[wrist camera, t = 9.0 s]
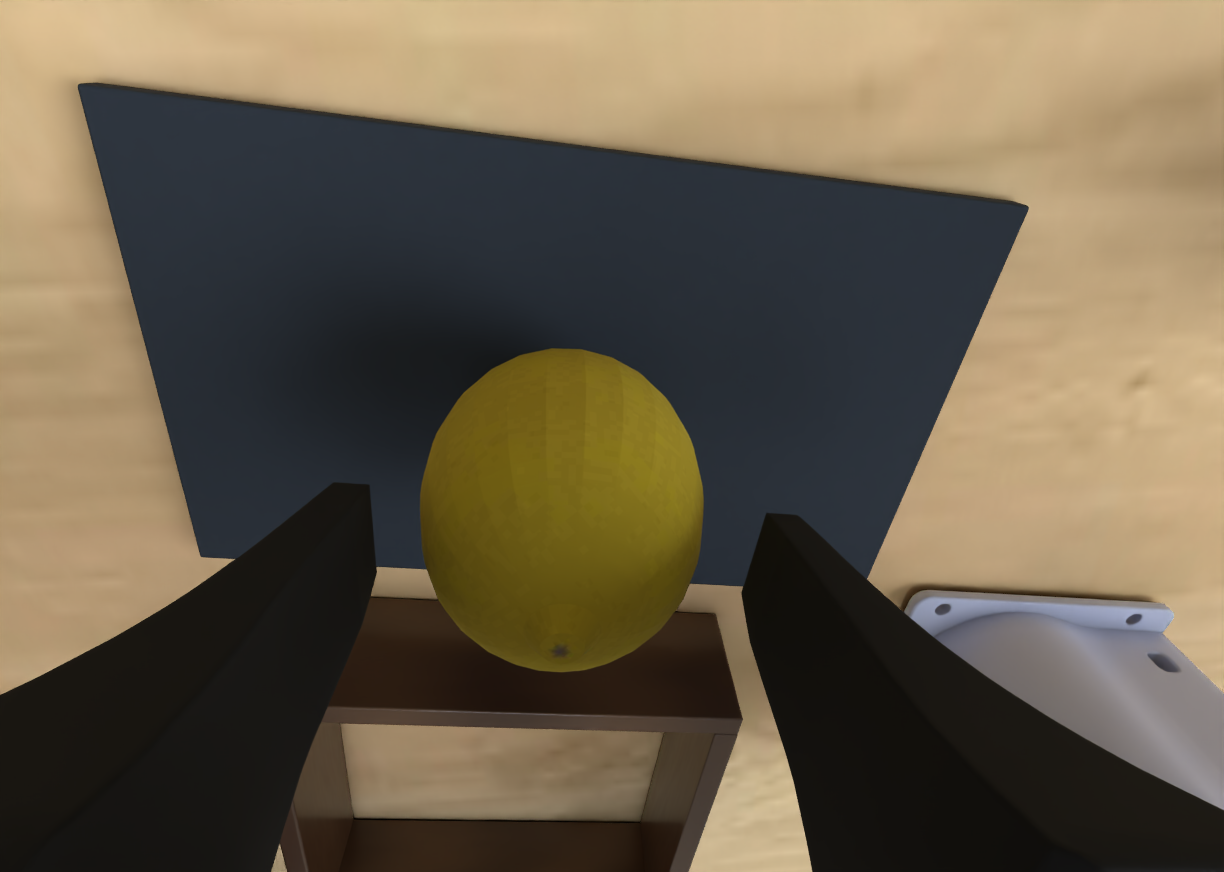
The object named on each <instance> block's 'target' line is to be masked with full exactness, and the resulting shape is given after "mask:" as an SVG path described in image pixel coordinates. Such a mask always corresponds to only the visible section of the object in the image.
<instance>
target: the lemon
mask: <svg viewBox="0 0 1224 872" xmlns="http://www.w3.org/2000/svg"><path fill="white" fill-rule="evenodd" d="M703 511H704V496H703V486H702V481H701V477H700V472H699V468H698V464H697V460H696V456H695V452H694V447H693V444H692V442H691V439H690V437H689V435H688V433H687V431H686V429H685V427H684V426H683V424H682V422H681V421H680V419H679V417H678V416H677V414H676V412H675V411H674V409H673V407H672V406H671V404H670V403H669V401H668V400H667V399H666V397H665V396H664V395H663V394H662V393H661V392H660V391H658V390H657V389H656V388H655V387H654V386H653V385H652V384H651V383H650V382H649V381H648V380H647V379H646V378H645V377H644V376H643V375H642V374H640V373H639V372H638V371H636V370H634V369H632V368H630V367H629V366H627V365H625V364H623V363H621V362H619V361H618V360H616V359H614V358H612V357H609V356H605V355H601V354H597V353H594V352H590V351H586V350H582V349H557V348H551V349H546V350H542V351H537V352H532V353H527V354H523V355H519V356H517V357H515V358H513V359H511V360H509V361H507V362H505V363H503V364H501V365H499V366H497V367H495V368H493V369H491V370H490V371H489V372H488V373H486V374H485V375H484V376H483V377H482V378H480V379H479V380H478V381H477V382H476V383H475V384H473V385H472V386H471V387H470V388H469V389H468V390H466V391H465V392H464V393H463V394H462V396H461V397H460V398H459V399H458V401H457V402H456V404H455V405H454V407H453V408H452V410H451V411H450V413H449V414H448V416H447V417H446V419H445V420H444V422H443V423H442V425H441V427H440V428H439V430H438V432H437V433H436V436H435V438H434V441H433V443H432V447H431V451H430V454H429V458H428V461H427V465H426V469H425V472H424V476H423V480H422V485H421V493H420V519H421V540H422V551H423V557H424V562H425V565H426V568H427V571H428V574H429V576H430V579H431V582H432V584H433V587H434V590H435V592H436V595H437V597H438V600H439V601H440V603H441V604H442V606H443V608H444V609H445V611H446V612H447V613H448V614H449V616H450V617H451V618H452V620H453V621H454V622H455V623H456V625H457V626H458V627H459V628H460V630H461V631H462V632H464V633H465V634H466V635H467V636H468V637H470V638H471V639H472V640H473V641H475V642H476V643H477V644H479V645H480V646H481V647H483V648H484V649H485V650H486V651H488V652H489V653H491V654H494V655H496V656H498V657H500V658H502V659H504V660H506V661H508V662H511V663H513V664H515V665H518V666H522V667H526V668H530V669H534V670H538V671H551V672H570V671H580V670H587V669H590V668H594V667H597V666H601V665H605V664H607V663H610V662H612V661H614V660H616V659H618V658H620V657H622V656H624V655H626V654H628V653H630V652H632V651H634V650H636V649H637V648H638V647H639V646H641V645H642V644H643V643H645V642H646V641H647V640H648V639H650V638H651V637H652V636H654V635H655V634H656V633H657V632H658V631H659V630H661V629H662V627H663V626H664V625H665V623H666V622H667V621H668V620H669V618H670V617H671V616H672V615H673V613H674V612H675V611H676V609H677V608H678V606H679V605H680V603H681V602H682V600H683V599H684V596H685V594H686V591H687V589H688V586H689V584H690V581H691V579H692V576H693V574H694V571H695V568H696V566H697V563H698V558H699V553H700V546H701V535H702V523H703Z"/></svg>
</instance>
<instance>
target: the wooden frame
mask: <svg viewBox="0 0 1224 872" xmlns="http://www.w3.org/2000/svg"><path fill="white" fill-rule="evenodd" d="M742 721H743V718H742V714H741V710H740V707H739V703H738V699H737V695H736V691H735V687H734V683H733V679H732V676H731V672H730V668H729V664H728V660H727V656H726V652H725V649H724V645H723V641H722V637H721V633H720V629H719V625H718V622H717V618H716V615H715V614H699V613H678V612H674V613H673V615H672V616H671V617H670V618H669V620H668V621H667V622H666V623H665V625H664V626H663V627H662V629H661V630H659V631H658V632H657V633H656V634H655V635H654V636H652V637H651V638H650V639H648V640H647V641H646V642H645V643H643V644H642V645H641V646H639V647H638V648H637V649H636V650H634V651H632V652H630V653H628V654H626V655H624V656H622V657H620V658H618V659H616V660H614V661H612V662H610V663H607V664H605V665H601V666H597V667H594V668H590V669H587V670H580V671H570V672H551V671H538V670H534V669H530V668H526V667H522V666H518V665H515V664H513V663H511V662H508V661H506V660H504V659H502V658H500V657H498V656H496V655H494V654H491V653H489V652H488V651H486V650H485V649H484V648H483V647H481V646H480V645H479V644H477V643H476V642H475V641H473V640H472V639H471V638H470V637H468V636H467V635H466V634H465V633H464V632H462V631H461V630H460V628H459V627H458V626H457V625H456V623H455V622H454V621H453V620H452V618H451V617H450V616H449V614H448V613H447V612H446V611H445V609H444V608H443V606H442V604H441V603H440V601H432V600H412V599H391V598H371V597H370V600H369V603H368V607H367V610H366V613H365V617H364V620H363V624H362V626H361V629H360V631H359V634H358V636H357V639H356V641H355V643H354V646H353V648H352V651H351V653H350V655H349V658H348V660H347V663H346V665H345V667H344V670H343V672H342V674H341V677H340V679H339V681H338V684H337V686H336V688H335V691H334V693H333V695H332V698H331V700H330V703H329V705H328V707H327V710H326V712H325V714H324V717H323V719H322V721H321V724H320V726H319V728H318V731H317V733H316V735H315V738H314V740H313V743H312V745H311V748H310V751H309V753H308V756H307V759H306V761H305V764H304V766H303V769H302V772H301V775H300V779H299V782H298V785H297V788H296V791H295V794H294V798H293V801H292V804H291V807H290V810H289V814H288V817H287V820H286V823H285V826H284V830H283V833H282V836H281V840H280V846H281V849H282V853H283V857H284V861H285V865H286V869H287V872H689V869H690V866H691V863H692V860H693V858H694V855H695V852H696V849H697V847H698V844H699V841H700V838H701V835H702V833H703V830H704V827H705V824H706V821H707V819H708V816H709V813H710V810H711V808H712V805H713V802H714V799H715V796H716V794H717V791H718V788H719V785H720V783H721V780H722V777H723V774H724V771H725V769H726V766H727V763H728V760H729V757H730V755H731V752H732V749H733V746H734V744H735V741H736V738H737V734H738V732H739V729H740V726H741V724H742ZM340 723H348V724H385V725H421V726H457V727H494V728H530V729H567V730H603V731H639V732H665V733H664V736H663V740H662V744H661V748H660V751H659V755H658V759H657V763H656V766H655V770H654V774H653V778H652V782H651V785H650V789H649V793H648V797H647V800H646V804H645V808H644V812H643V815H642V819H641V823H594V822H506V821H418V820H353V813H352V806H351V799H350V792H349V785H348V778H347V771H346V764H345V758H344V751H343V744H342V737H341V730H340Z"/></svg>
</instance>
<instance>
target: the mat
mask: <svg viewBox="0 0 1224 872" xmlns="http://www.w3.org/2000/svg"><path fill="white" fill-rule="evenodd" d="M78 90H79V94H80V98H81V102H82V106H83V109H84V113H85V117H86V121H87V125H88V128H89V132H90V136H91V140H92V144H93V148H94V151H95V155H96V159H97V163H98V167H99V170H100V174H101V178H102V182H103V186H104V190H105V193H106V197H107V201H108V205H109V209H110V212H111V216H112V220H113V224H114V228H115V232H116V235H117V239H118V243H119V247H120V251H121V254H122V258H123V262H124V266H125V270H126V274H127V277H128V281H129V285H130V289H131V293H132V296H133V300H134V304H135V308H136V312H137V316H138V319H139V323H140V327H141V331H142V335H143V338H144V342H145V346H146V350H147V354H148V358H149V361H150V365H151V369H152V373H153V377H154V380H155V384H156V388H157V392H158V396H159V400H160V403H161V407H162V411H163V415H164V419H165V422H166V426H167V430H168V434H169V438H170V441H171V445H172V449H173V453H174V457H175V461H176V464H177V468H178V472H179V476H180V480H181V483H182V487H183V491H184V495H185V499H186V503H187V506H188V510H189V514H190V518H191V522H192V525H193V529H194V533H195V537H196V541H197V545H198V548H199V552H200V556H201V557H208V558H227V559H237V558H238V557H239V556H241V555H242V554H243V553H245V552H246V551H247V550H249V549H250V548H251V547H253V546H254V545H255V544H256V543H258V542H259V541H260V540H262V539H263V538H264V537H265V536H267V535H268V534H269V533H271V532H272V531H273V530H275V529H276V528H277V527H278V526H280V525H281V524H282V523H283V522H284V521H286V520H287V519H288V518H289V517H291V516H292V515H293V514H294V513H296V512H297V511H298V510H299V509H301V508H302V507H303V506H304V505H306V504H307V503H308V502H309V501H310V500H312V499H313V498H314V497H315V496H317V495H318V494H319V493H321V492H322V491H323V490H324V489H326V488H327V487H328V486H329V485H331V484H332V483H333V482H339V483H353V484H367V485H370V496H371V508H372V521H373V533H374V546H375V558H376V567H393V568H412V569H427V568H426V565H425V562H424V557H423V551H422V540H421V519H420V493H421V485H422V480H423V476H424V472H425V469H426V465H427V461H428V458H429V454H430V451H431V447H432V443H433V441H434V438H435V436H436V433H437V432H438V430H439V428H440V427H441V425H442V423H443V422H444V420H445V419H446V417H447V416H448V414H449V413H450V411H451V410H452V408H453V407H454V405H455V404H456V402H457V401H458V399H459V398H460V397H461V396H462V394H463V393H464V392H465V391H466V390H468V389H469V388H470V387H471V386H472V385H473V384H475V383H476V382H477V381H478V380H479V379H480V378H482V377H483V376H484V375H485V374H486V373H488V372H489V371H490V370H491V369H493V368H495V367H497V366H499V365H501V364H503V363H505V362H507V361H509V360H511V359H513V358H515V357H517V356H519V355H523V354H527V353H532V352H537V351H542V350H546V349H551V348H557V349H582V350H586V351H590V352H594V353H597V354H601V355H605V356H609V357H612V358H614V359H616V360H618V361H619V362H621V363H623V364H625V365H627V366H629V367H630V368H632V369H634V370H636V371H638V372H639V373H640V374H642V375H643V376H644V377H645V378H646V379H647V380H648V381H649V382H650V383H651V384H652V385H653V386H654V387H655V388H656V389H657V390H658V391H660V392H661V393H662V394H663V395H664V396H665V397H666V399H667V400H668V401H669V403H670V404H671V406H672V407H673V409H674V411H675V412H676V414H677V416H678V417H679V419H680V421H681V422H682V424H683V426H684V427H685V429H686V431H687V433H688V435H689V437H690V439H691V442H692V444H693V447H694V452H695V456H696V460H697V464H698V468H699V472H700V477H701V481H702V486H703V496H704V511H703V523H702V535H701V546H700V553H699V558H698V563H697V566H696V568H695V571H694V574H693V576H692V579H691V581H690V584H708V585H726V586H744V583H745V580H746V577H747V574H748V570H749V567H750V564H751V561H752V557H753V554H754V551H755V548H756V544H757V541H758V538H759V535H760V531H761V528H762V525H763V522H764V518H765V515H766V513H778V514H792V515H798V516H799V517H801V518H802V519H803V520H804V521H805V522H806V523H808V524H809V525H810V526H811V527H812V528H813V529H814V530H815V531H816V532H817V533H818V534H819V535H820V536H821V537H823V538H824V539H825V540H826V541H827V542H828V543H829V544H830V545H831V546H832V547H833V548H834V549H835V550H836V551H837V552H838V553H839V554H840V555H841V556H842V557H843V558H845V559H846V560H847V561H848V562H849V563H850V564H851V565H852V566H853V567H854V568H855V569H856V570H857V571H858V572H859V573H860V574H861V575H863V576H864V577H865V578H866V579H867V578H868V576H869V573H870V571H871V569H872V566H873V564H874V562H875V560H876V557H877V555H878V553H879V550H880V548H881V546H882V544H883V541H884V539H885V537H886V534H887V532H888V530H889V527H890V525H891V523H892V521H893V518H894V516H895V514H896V511H897V509H898V507H899V505H900V502H901V500H902V498H903V495H904V493H905V491H906V489H907V486H908V484H909V482H910V479H911V477H912V475H913V473H914V470H915V468H916V466H917V463H918V461H919V459H920V457H921V454H922V452H923V450H924V447H925V445H926V443H927V440H928V438H929V436H930V434H931V431H932V429H933V427H934V424H935V422H936V420H937V418H938V415H939V413H940V411H941V408H942V406H943V404H944V402H945V399H946V397H947V395H948V392H949V390H950V388H951V386H952V383H953V381H954V379H955V376H956V374H957V372H958V370H959V367H960V365H961V363H962V360H963V358H964V356H965V354H966V351H967V349H968V347H969V344H970V342H971V340H972V337H973V335H974V333H975V331H976V328H977V326H978V324H979V321H980V319H981V317H982V315H983V312H984V310H985V308H986V305H987V303H988V301H989V299H990V296H991V294H992V292H993V289H994V287H995V285H996V283H997V280H998V278H999V276H1000V273H1001V271H1002V269H1003V267H1004V264H1005V262H1006V260H1007V257H1008V255H1009V253H1010V250H1011V248H1012V246H1013V244H1014V241H1015V239H1016V237H1017V234H1018V232H1019V230H1020V228H1021V225H1022V223H1023V221H1024V218H1025V216H1026V214H1027V212H1028V208H1029V207H1028V206H1026V205H1023V204H1020V203H1017V202H1014V201H1006V200H999V199H991V198H983V197H976V196H968V195H960V194H952V193H945V192H937V191H929V190H922V189H914V188H906V187H898V186H891V185H883V184H875V183H867V182H860V181H852V180H844V179H837V178H829V177H821V176H813V175H806V174H798V173H790V172H782V171H775V170H767V169H759V168H752V167H744V166H736V165H728V164H721V163H713V162H705V161H697V160H690V159H682V158H674V157H667V156H659V155H651V154H643V153H636V152H628V151H620V150H613V149H605V148H597V147H589V146H582V145H574V144H566V143H558V142H551V141H543V140H535V139H528V138H520V137H512V136H504V135H497V134H489V133H481V132H473V131H466V130H458V129H450V128H443V127H435V126H427V125H419V124H412V123H404V122H396V121H388V120H381V119H373V118H365V117H358V116H350V115H342V114H334V113H327V112H319V111H311V110H304V109H296V108H288V107H280V106H273V105H265V104H257V103H249V102H242V101H234V100H226V99H219V98H211V97H203V96H195V95H188V94H180V93H172V92H164V91H157V90H149V89H141V88H134V87H126V86H118V85H110V84H103V83H83V84H79V85H78Z"/></svg>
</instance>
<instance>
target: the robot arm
mask: <svg viewBox="0 0 1224 872" xmlns="http://www.w3.org/2000/svg"><path fill="white" fill-rule="evenodd" d="M376 573H377V570H376V558H375V546H374V533H373V521H372V508H371V496H370V485H367V484H353V483H339V482H333V483H332V484H331V485H329V486H328V487H327V488H326V489H324V490H323V491H322V492H321V493H319V494H318V495H317V496H315V497H314V498H313V499H312V500H310V501H309V502H308V503H307V504H306V505H304V506H303V507H302V508H301V509H299V510H298V511H297V512H296V513H294V514H293V515H292V516H291V517H289V518H288V519H287V520H286V521H284V522H283V523H282V524H281V525H280V526H278V527H277V528H276V529H275V530H273V531H272V532H271V533H269V534H268V535H267V536H265V537H264V538H263V539H262V540H260V541H259V542H258V543H256V544H255V545H254V546H253V547H251V548H250V549H249V550H247V551H246V552H245V553H243V554H242V555H241V556H239V557H238V558H237V559H235V560H234V561H232V562H231V563H230V564H228V565H227V566H225V567H224V568H222V569H221V570H220V571H218V572H217V573H215V574H214V575H213V576H211V577H210V578H208V579H207V580H206V581H204V582H203V583H201V584H200V585H198V586H197V587H196V588H194V589H193V590H191V591H190V592H188V593H187V594H185V595H184V596H182V597H180V598H179V599H177V600H176V601H174V602H173V603H171V604H169V605H168V606H166V607H165V608H163V609H161V610H160V611H158V612H156V613H155V614H153V615H151V616H150V617H148V618H146V619H145V620H143V621H141V622H140V623H138V624H136V625H135V626H133V627H131V628H130V629H128V630H126V631H124V632H123V633H121V634H119V635H117V636H116V637H114V638H112V639H110V640H108V641H106V642H104V643H102V644H101V645H99V646H97V647H95V648H93V649H91V650H89V651H87V652H85V653H83V654H81V655H80V656H78V657H76V658H74V659H72V660H70V661H68V662H66V663H64V664H62V665H60V666H58V667H57V668H55V669H53V670H51V671H49V672H47V673H45V674H43V675H41V676H39V677H37V678H35V679H33V680H31V681H29V682H27V683H25V684H23V685H21V686H18V687H16V688H14V689H12V690H10V691H8V692H6V693H4V694H1V695H0V872H271V870H272V867H273V863H274V860H275V856H276V853H277V850H278V846H279V843H280V840H281V836H282V833H283V830H284V826H285V823H286V820H287V817H288V814H289V810H290V807H291V804H292V801H293V798H294V794H295V791H296V788H297V785H298V782H299V779H300V775H301V772H302V769H303V766H304V764H305V761H306V759H307V756H308V753H309V751H310V748H311V745H312V743H313V740H314V738H315V735H316V733H317V731H318V728H319V726H320V724H321V721H322V719H323V717H324V714H325V712H326V710H327V707H328V705H329V703H330V700H331V698H332V695H333V693H334V691H335V688H336V686H337V684H338V681H339V679H340V677H341V674H342V672H343V670H344V667H345V665H346V663H347V660H348V658H349V655H350V653H351V651H352V648H353V646H354V643H355V641H356V639H357V636H358V634H359V631H360V629H361V626H362V624H363V620H364V617H365V613H366V610H367V607H368V603H369V600H370V596H371V592H372V588H373V585H374V581H375V577H376ZM742 600H743V606H744V612H745V618H746V623H747V628H748V634H749V639H750V643H751V647H752V650H753V653H754V657H755V660H756V663H757V666H758V669H759V672H760V676H761V679H762V682H763V685H764V688H765V691H766V694H767V697H768V700H769V703H770V706H771V710H772V713H773V716H774V719H775V722H776V725H777V728H778V731H779V734H780V737H781V740H782V743H783V746H784V750H785V753H786V756H787V759H788V763H789V767H790V770H791V774H792V777H793V781H794V785H795V790H796V794H797V799H798V803H799V808H800V813H801V817H802V822H803V826H804V831H805V836H806V840H807V846H808V851H809V856H810V861H811V866H812V871H813V872H1224V693H1223V692H1222V691H1221V690H1220V689H1219V688H1218V687H1217V686H1216V685H1215V684H1214V683H1213V682H1212V681H1211V680H1210V679H1209V678H1208V677H1207V676H1206V675H1205V674H1204V673H1202V672H1201V671H1200V670H1199V669H1198V668H1197V667H1196V666H1195V665H1194V664H1193V663H1192V662H1191V661H1190V660H1189V659H1188V658H1187V657H1186V656H1185V655H1184V654H1183V653H1182V652H1181V651H1180V650H1179V649H1178V648H1177V647H1176V646H1175V645H1174V644H1173V643H1172V642H1171V641H1170V640H1169V639H1168V638H1167V637H1166V636H1165V635H1164V634H1163V631H1164V630H1165V629H1166V628H1167V626H1168V625H1169V624H1170V623H1171V621H1172V620H1173V618H1174V613H1173V612H1172V611H1171V610H1170V609H1169V608H1168V607H1167V606H1166V605H1165V604H1163V603H1156V602H1138V601H1120V600H1102V599H1084V598H1066V597H1048V596H1029V595H1011V594H993V593H975V592H957V591H939V590H923V591H920V592H917V593H916V594H915V595H913V596H912V598H911V599H910V600H909V602H908V605H907V607H906V609H905V611H904V612H903V611H902V610H900V609H899V608H898V607H897V606H896V605H895V604H894V603H892V602H891V601H890V600H889V599H888V598H887V597H886V596H884V595H883V594H882V593H881V592H880V591H879V590H878V589H877V588H876V587H874V586H873V585H872V584H871V583H870V582H869V581H868V580H867V579H866V578H865V577H864V576H863V575H861V574H860V573H859V572H858V571H857V570H856V569H855V568H854V567H853V566H852V565H851V564H850V563H849V562H848V561H847V560H846V559H845V558H843V557H842V556H841V555H840V554H839V553H838V552H837V551H836V550H835V549H834V548H833V547H832V546H831V545H830V544H829V543H828V542H827V541H826V540H825V539H824V538H823V537H821V536H820V535H819V534H818V533H817V532H816V531H815V530H814V529H813V528H812V527H811V526H810V525H809V524H808V523H806V522H805V521H804V520H803V519H802V518H801V517H799V516H798V515H792V514H778V513H766V515H765V518H764V522H763V525H762V528H761V531H760V535H759V538H758V541H757V544H756V548H755V551H754V554H753V557H752V561H751V564H750V567H749V570H748V574H747V577H746V580H745V583H744V587H743V590H742Z"/></svg>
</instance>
